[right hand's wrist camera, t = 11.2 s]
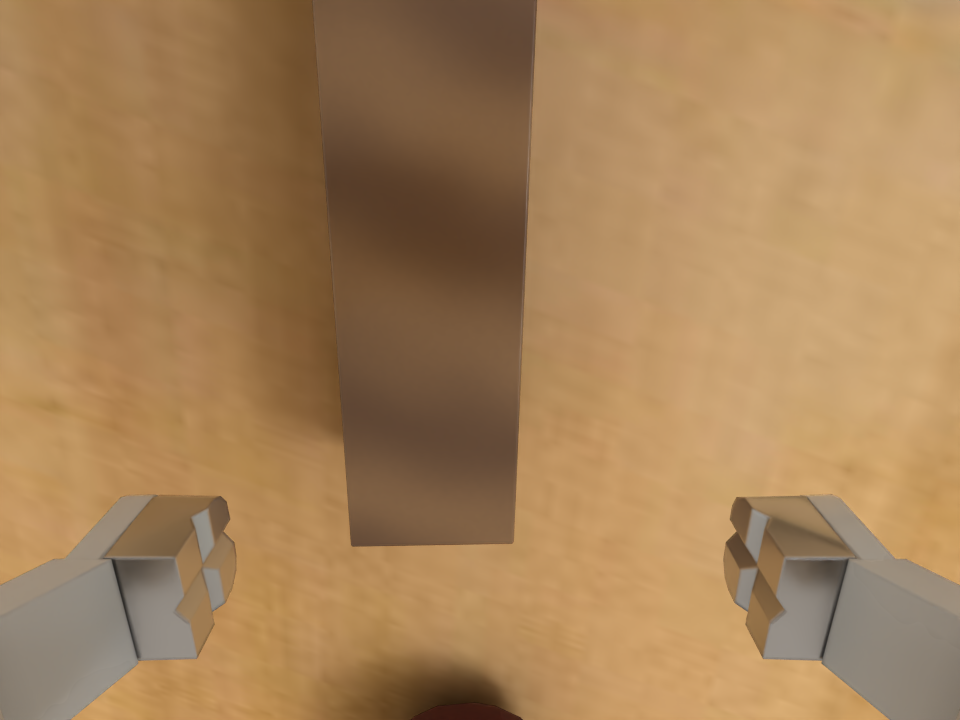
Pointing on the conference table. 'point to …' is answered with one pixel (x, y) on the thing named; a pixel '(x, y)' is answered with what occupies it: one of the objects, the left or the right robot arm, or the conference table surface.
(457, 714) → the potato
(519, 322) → the beam
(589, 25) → the conference table surface
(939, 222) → the conference table surface
